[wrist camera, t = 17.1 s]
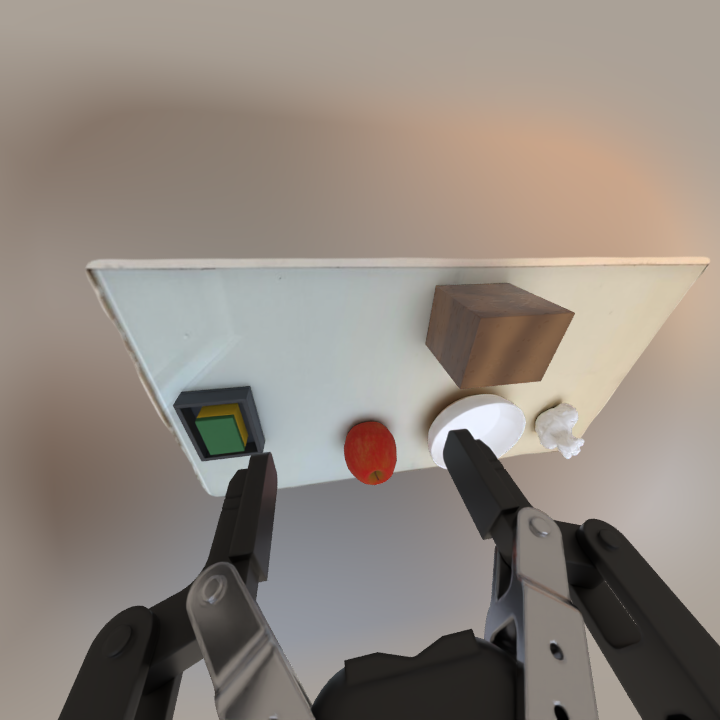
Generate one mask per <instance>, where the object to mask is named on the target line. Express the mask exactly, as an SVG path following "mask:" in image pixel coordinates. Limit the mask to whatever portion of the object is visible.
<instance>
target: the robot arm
mask: <svg viewBox="0 0 720 720" xmlns="http://www.w3.org/2000/svg"><path fill="white" fill-rule="evenodd" d="M443 460H444V463H445V465H446V467H447V469H448V471H449V473H450V475H451V477H452V479H453V481H454V483H455V485H456V487H457V489H458V491H459V493H460V495H461V497H462V499H463V501H464V503H465V505H466V507H467V509H468V511H469V513H470V515H471V517H472V519H473V521H474V523H475V525H476V527H477V529H478V531H479V533H480V535H481V537H482V539H483V540H485V539H490V538H493V540H494V542H495V544H496V546H495V553H494V568H493V582H492V596H491V603H490V607H489V610H488V613H487V618H486V624H485V634H484V639H481V638H478V637H475V636H474V633H473V630H472V629H469V630H465V631H461V632H457V633H453V634H449V635H445V636H442V637H441V638H439V639H438V640H437V641H435V642H434V643H433V644H431V645H430V646H429V647H427V648H426V649H425V650H423V651H422V652H421V653H419V654H418V655H417V656H415V657H405V656H399V655H392V654H386V653H378V652H377V653H373V654H369V655H365V656H361V657H357V658H353V659H349V660H345V661H344V662H345V667H344V668H343V669H341V670H340V671H339V672H337V673H336V674H335V675H334V676H333V677H332V678H331V679H330V680H329V681H328V683H327V684H326V685H325V686H324V687H323V689H322V690H321V692H320V693H319V695H318V696H317V698H316V699H315V701H314V704H313V705H312V703H311V701H310V699H309V697H308V696H307V694H306V692H305V690H304V688H303V686H302V685H301V683H300V681H299V679H298V677H297V675H296V673H295V672H294V670H293V668H292V666H291V664H290V663H289V661H288V659H287V657H286V655H285V654H284V652H283V650H282V648H281V646H280V645H279V643H278V641H277V639H276V637H275V635H274V633H273V632H272V630H271V628H270V626H269V624H268V622H267V620H266V619H265V617H264V615H263V613H262V611H261V609H260V607H259V606H258V604H257V602H256V597H257V588H258V582H262V581H267V577H268V567H269V558H270V549H271V540H272V531H273V522H274V512H275V503H276V494H277V472H276V468H275V465H274V461H273V457H272V454H271V452H266V453H258V454H252V455H251V457H250V461H249V465H248V469H241V470H238V471H237V472H236V474H235V475H234V476H233V478H232V479H231V481H230V482H229V485H228V489H227V493H226V496H225V497H226V498H225V500H224V503H223V507H222V512H221V514H220V518H219V522H218V525H217V529H216V532H215V536H214V540H213V543H212V547H211V550H210V554H209V557H208V560H207V562H206V565H205V567H204V568H203V570H202V571H201V573H200V574H199V576H198V577H197V578H196V579H195V580H194V581H193V582H192V583H191V584H190V585H189V586H188V587H186V588H185V589H183V590H182V591H180V592H179V593H177V594H175V595H173V596H171V597H169V598H167V599H166V600H164V601H162V602H160V603H158V604H156V605H155V606H153V607H151V608H149V609H148V608H146V607H144V606H133V607H130V608H128V609H126V610H124V611H122V612H120V613H119V614H117V615H116V616H115V617H114V618H112V619H111V620H110V621H109V622H108V623H107V624H106V625H105V626H104V627H103V629H102V630H101V631H100V632H99V634H98V635H97V636H96V638H95V639H94V641H93V643H92V645H91V646H90V649H89V651H88V653H87V655H86V657H85V659H84V662H83V664H82V666H81V668H80V671H79V673H78V675H77V678H76V680H75V682H74V685H73V687H72V689H71V691H70V693H69V696H68V698H67V700H66V703H65V705H64V707H63V709H62V712H61V714H60V716H59V718H58V720H172V718H173V714H174V710H175V705H176V701H177V696H178V692H179V687H180V683H181V678H182V674H183V671H184V670H186V669H188V668H189V667H191V666H192V665H194V664H195V663H197V662H198V661H200V660H201V659H203V658H204V660H205V663H206V666H207V668H208V671H209V674H210V677H211V679H212V682H213V686H214V690H215V706H216V710H217V714H218V717H219V720H599V718H598V711H597V705H596V699H595V692H594V685H593V678H592V672H591V666H590V659H589V652H588V646H587V639H586V632H585V626H584V623H585V624H586V626H587V628H588V629H589V631H590V633H591V634H592V636H593V638H594V639H595V641H596V643H597V644H598V646H599V647H600V649H601V651H602V653H603V654H604V656H605V658H606V659H607V661H608V663H609V664H610V666H611V668H612V669H613V671H614V673H615V674H616V676H617V678H618V679H619V681H620V683H621V685H622V686H623V688H624V690H625V691H626V693H627V695H628V696H629V698H630V700H631V701H632V703H633V705H634V706H635V708H636V709H637V711H638V713H639V714H640V716H641V718H642V720H720V646H719V645H718V644H717V643H716V641H715V640H714V639H713V638H712V637H711V636H710V634H709V633H708V632H707V631H706V630H705V629H704V628H703V626H701V624H700V623H699V622H698V621H697V619H696V618H695V617H694V616H693V615H692V614H691V612H690V611H689V610H688V609H687V608H686V607H685V606H684V605H683V603H682V602H681V601H680V600H679V599H678V597H676V595H675V594H674V593H673V592H672V591H671V590H670V588H669V587H668V586H667V585H666V584H665V582H664V581H663V580H662V579H661V578H660V577H659V576H658V574H657V573H656V572H655V571H654V570H653V569H652V567H651V566H650V565H649V564H648V563H647V562H646V561H645V559H644V558H643V557H642V556H641V555H640V554H639V552H638V551H637V550H636V549H635V548H634V547H633V546H632V544H631V543H630V542H629V541H628V540H627V539H626V538H625V536H624V535H623V534H622V533H620V532H619V531H618V530H617V529H616V528H614V527H613V526H611V525H610V524H608V523H606V522H604V521H601V520H597V519H588V520H587V521H586V522H585V523H583V524H582V525H577V524H571V523H566V522H560V521H556V520H553V519H552V518H550V517H549V516H548V515H547V514H546V513H544V512H542V511H541V510H539V509H536V508H534V507H533V506H531V504H530V503H529V502H528V500H527V499H526V498H525V496H524V495H523V493H522V492H521V491H520V489H519V488H518V486H517V485H516V484H515V482H514V481H513V479H512V478H511V476H510V475H509V474H508V472H507V471H506V469H504V467H503V465H502V464H501V462H500V461H499V460H498V459H497V457H496V455H495V454H494V453H493V451H492V450H491V448H490V447H489V446H487V445H486V444H485V443H484V442H482V441H481V440H480V439H476V440H475V439H474V437H473V436H472V434H471V433H470V432H469V430H467V429H458V430H450V431H449V432H448V435H447V439H446V442H445V445H444V449H443ZM605 581H606V582H607V583H606V582H605ZM608 585H609V586H608ZM610 588H611V589H612V590H611V589H610ZM613 592H614V593H613ZM615 595H616V596H617V597H616V596H615ZM618 599H619V600H618ZM571 601H572V602H571ZM620 602H621V603H622V604H621V603H620ZM623 606H624V607H623ZM625 609H626V610H627V611H626V610H625ZM628 613H629V614H628ZM630 616H631V617H632V618H631V617H630ZM633 620H634V621H633ZM635 623H636V624H635Z"/></svg>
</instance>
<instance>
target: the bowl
mask: <svg viewBox="0 0 720 720" xmlns="http://www.w3.org/2000/svg"><path fill="white" fill-rule="evenodd" d="M525 424H526V422H525V416H524V413H523V411H522V410H521V409H520V408H519V407H517V406H516V405H515V404H514V403H512V402H511V401H509V400H507V399H505V398H502V397H500V396H497V395H493V394H480V395H473V396H468V397H464V398H462V399H459V400H457V401H455V402H453V403H452V404H450V405H449V406H447V407H446V408H445V409H443V410H442V412H441V413H440V414H439V415H438V416H437V418H436V419H435V420H434V422H433V423H432V425H431V427H430V429H429V433H428V447H429V452H430V455H431V457H432V459H433V461H434V462H435V463H436V464H437V465H438V466H440V467H442V468H444V469H447V467H446V465H445V463H444V460H443V449H444V445H445V442H446V439H447V435H448V432H449V431H450V430H458V429H467V430H469V432H470V433H471V434H472V436H473V437H474V439H475V440H476V439H480V440H481V441H482V442H484V443H485V444H486V445H487V446H489V447H490V448H491V450H492V451H493V453H494V454H495V455H496V457H497V458H499V457H500V456H502V455H503V454H505V453H506V452H507V451H508V450H510V449H511V448H512V447H513V446H514V445H515V444H516V443H517V441H518V440H519V438H520V437H521V435H522V433H523V431H524V428H525Z"/></svg>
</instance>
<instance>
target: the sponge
mask: <svg viewBox="0 0 720 720" xmlns="http://www.w3.org/2000/svg"><path fill="white" fill-rule="evenodd" d="M195 423H196V426H197V428H198V430H199V432H200V434H201V436H202V438H203V440H204V442H205V444H206V447H207V449H208V451H209V453H210V455H215V454H223V453H232V452H240V451H244V450H245V446H246V442H247V438H248V433H247V430H246V427H245V424H244V421H243V418H242V415H241V412H240V409H239V406H238V403H233V404H222V405H212V406H203V407H202V408H201V410H200V412H199V414H198V416H197V419H196V421H195Z"/></svg>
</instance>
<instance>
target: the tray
mask: <svg viewBox="0 0 720 720" xmlns="http://www.w3.org/2000/svg"><path fill="white" fill-rule="evenodd" d="M233 403H238V406H239V409H240V412H241V415H242V418H243V421H244V424H245V427H246V430H247V433H248V438H247V442H246V446H245V450H244V451H240V452H232V453H223V454H215V455H210V453H209V451H208V449H207V447H206V444H205V442H204V440H203V438H202V436H201V434H200V432H199V430H198V428H197V426H196V423H195V421H196V419H197V416H198V414H199V412H200V410H201V408H202V407H203V406H212V405H222V404H233ZM173 407H174V408H175V410H176V412H177V414H178V416H179V418H180V420H181V422H182V424H183V426H184V428H185V430H186V432H187V434H188V436H189V438H190V440H191V442H192V444H193V446H194V447H195V449H196V451H197V453H198V455H199V457H200V459H201V461H209V460H218V459H226V458H234V457H242V456H250V455H252V454H258V453H263V449H264V444H265V439H264V435H263V431H262V428H261V424H260V421H259V417H258V413H257V410H256V406H255V403H254V399H253V395H252V392H251V388H250V386H248V387H236V388H225V389H213V390H201V391H190V392H181V394H180V395H179V397H178V398H177V400H176V401H175V403H174V405H173Z"/></svg>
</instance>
